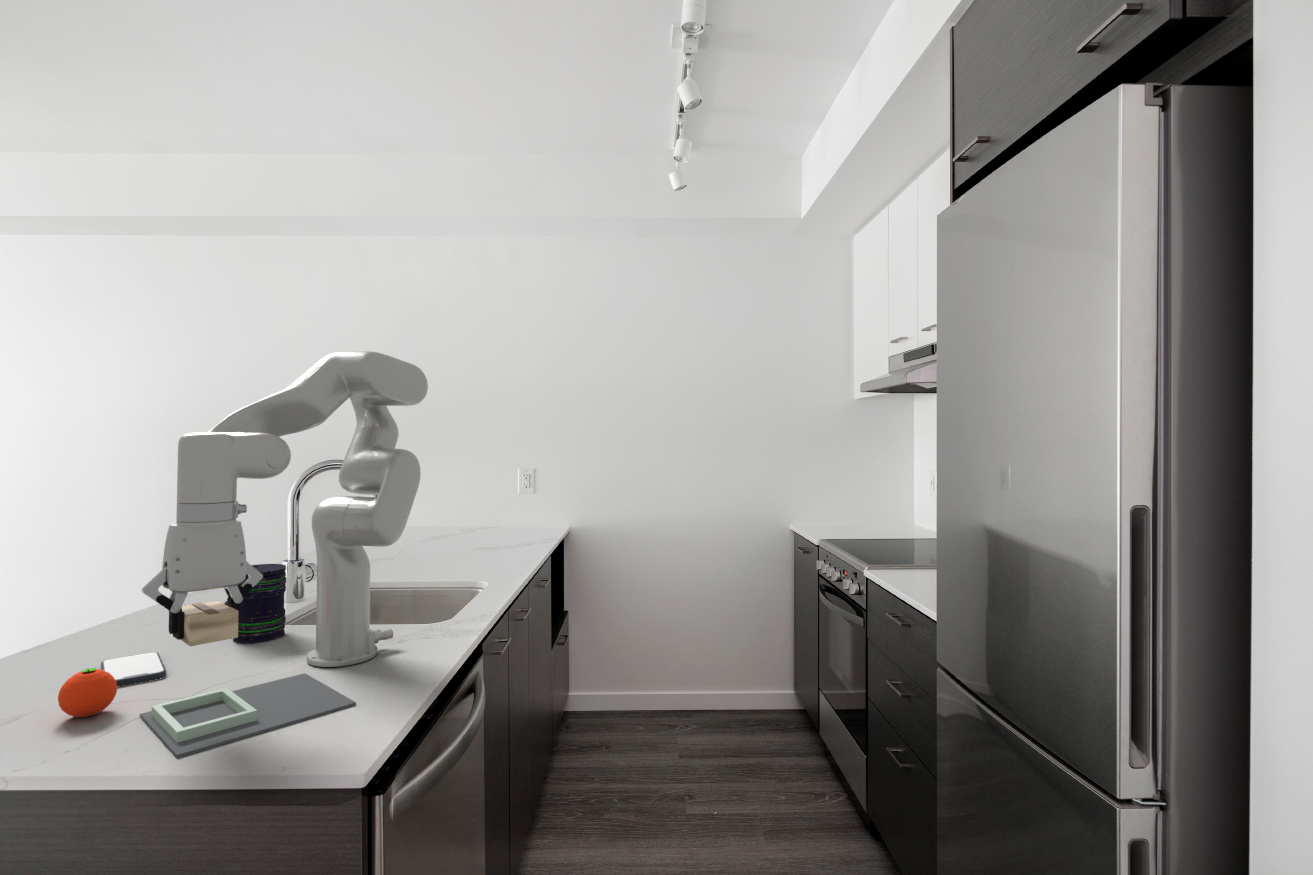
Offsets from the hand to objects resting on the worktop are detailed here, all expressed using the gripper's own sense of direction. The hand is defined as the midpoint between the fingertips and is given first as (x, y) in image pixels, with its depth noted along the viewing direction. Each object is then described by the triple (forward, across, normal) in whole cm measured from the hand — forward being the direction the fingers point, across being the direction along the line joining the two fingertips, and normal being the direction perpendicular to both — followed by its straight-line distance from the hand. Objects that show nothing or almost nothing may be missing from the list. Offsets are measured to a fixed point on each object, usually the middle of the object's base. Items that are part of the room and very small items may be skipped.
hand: (204, 631), depth 99 cm
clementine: (+14, +11, -16) cm, 24 cm away
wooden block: (+1, 0, 0) cm, 1 cm away
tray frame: (+13, 0, 0) cm, 13 cm away
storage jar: (+13, -21, -41) cm, 48 cm away
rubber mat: (+13, -6, +1) cm, 15 cm away
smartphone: (+14, +2, -34) cm, 37 cm away
